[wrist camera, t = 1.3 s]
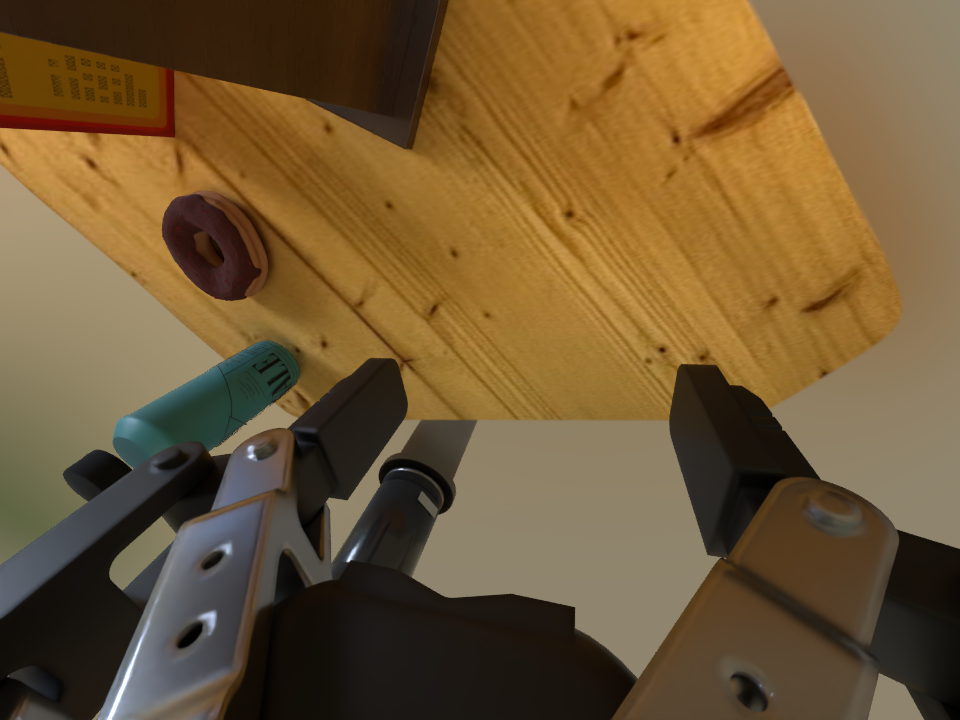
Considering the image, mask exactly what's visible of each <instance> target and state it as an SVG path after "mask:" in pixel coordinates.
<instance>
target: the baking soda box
mask: <svg viewBox="0 0 960 720" xmlns="http://www.w3.org/2000/svg"><path fill="white" fill-rule="evenodd" d="M0 128H13V129H31V130H49V131H68V132H86V133H104V134H122V135H141V136H159V137H175V129H174V70H171V69H167V68H162V67H157V66H153V65H148V64H144V63H139V62H134V61H130V60H125V59H120V58H116V57H111V56H107V55H102V54H97V53H93V52H88V51H84V50H79V49H74V48H70V47H65V46H60V45H56V44H51V43H47V42H42V41H37V40H33V39H28V38H24V37H19V36H14V35H10V34H5V33H0Z"/></svg>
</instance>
